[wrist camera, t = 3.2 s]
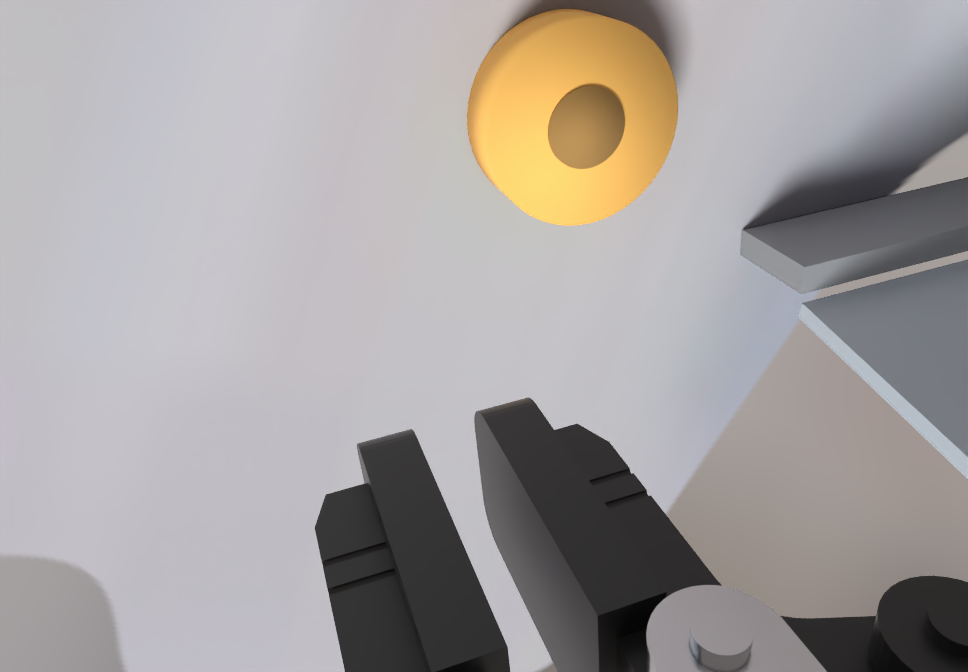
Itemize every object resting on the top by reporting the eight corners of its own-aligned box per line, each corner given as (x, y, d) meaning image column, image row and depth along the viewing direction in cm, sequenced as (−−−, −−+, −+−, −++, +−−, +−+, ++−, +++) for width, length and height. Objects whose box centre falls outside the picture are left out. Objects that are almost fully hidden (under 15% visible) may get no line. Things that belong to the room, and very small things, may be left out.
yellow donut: (455, 23, 23) (479, 34, 21) (644, -6, 24) (683, 3, 22) (475, 218, 26) (498, 244, 24) (641, 183, 27) (676, 205, 25)
